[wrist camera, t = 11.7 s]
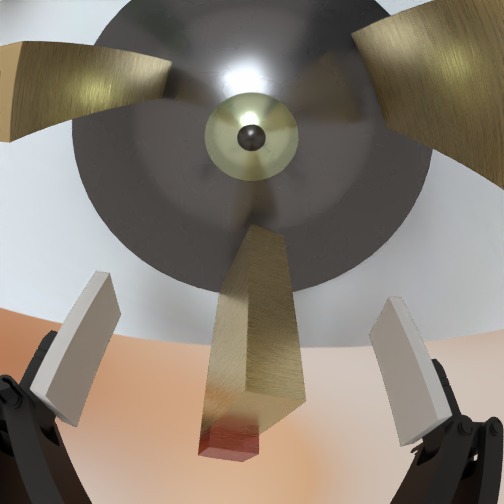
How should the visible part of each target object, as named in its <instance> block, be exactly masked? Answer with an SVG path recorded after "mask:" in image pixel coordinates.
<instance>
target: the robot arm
mask: <svg viewBox="0 0 504 504" xmlns="http://www.w3.org/2000/svg"><path fill="white" fill-rule="evenodd" d="M120 316H121V312H120V309H119V306H118V302H117V299H116V295H115V291H114V288H113V284H112V280H111V276H110V273H106V272H99V271H96V272H95V274H94V275H93V277H92V278H91V279H90V281H89V283H88V284H87V286H86V287H85V289H84V290H83V292H82V293H81V295H80V296H79V298H78V300H77V301H76V303H75V305H74V306H73V308H72V309H71V311H70V313H69V314H68V316H67V318H66V320H65V321H64V323H63V325H62V327H61V328H60V330H59V332H56V331H52V330H51V331H50V332H49V333H48V334H47V335H46V336H45V337H44V338H43V339H42V341H41V343H40V345H39V346H38V349H37V350H36V352H35V354H34V357H33V358H32V360H31V361H30V363H29V365H28V368H27V369H26V371H25V373H24V376H23V378H22V380H21V382H20V383H19V385H18V384H17V382H16V381H15V380H14V379H13V378H12V377H11V376H9V375H1V376H0V504H92V502H91V501H90V499H89V497H88V495H87V493H86V492H85V490H84V488H83V486H82V484H81V482H80V480H79V478H78V476H77V474H76V471H75V469H74V467H73V465H72V463H71V460H70V458H69V456H68V453H67V451H66V448H65V446H64V443H63V441H62V438H61V435H60V433H59V430H58V427H57V424H56V423H55V421H54V420H55V418H56V416H57V417H58V418H59V419H60V420H61V421H63V422H65V423H67V424H70V425H72V426H75V427H77V425H78V422H79V419H80V416H81V413H82V410H83V407H84V405H85V402H86V399H87V396H88V393H89V391H90V388H91V385H92V383H93V380H94V378H95V375H96V372H97V370H98V367H99V365H100V362H101V359H102V357H103V355H104V353H105V350H106V347H107V345H108V343H109V341H110V338H111V336H112V334H113V332H114V329H115V327H116V325H117V323H118V321H119V318H120ZM369 336H370V339H371V342H372V345H373V348H374V351H375V354H376V358H377V361H378V364H379V367H380V371H381V374H382V377H383V381H384V384H385V387H386V391H387V395H388V398H389V402H390V406H391V409H392V413H393V417H394V421H395V425H396V429H397V433H398V438H399V442H400V446H405V445H409V444H413V443H415V442H417V441H418V440H420V439H421V438H422V439H423V443H421V444H419V445H418V446H416V447H415V448H413V449H412V451H411V453H413V452H415V451H416V450H418V451H417V452H416V453H415V458H414V460H413V462H412V464H411V466H410V468H409V470H408V472H407V474H406V476H405V478H404V480H403V482H402V483H401V485H400V487H399V489H398V491H397V492H396V494H395V496H394V498H393V499H392V501H391V503H390V504H497V502H498V496H499V490H500V482H501V472H502V461H503V425H502V423H501V421H500V420H499V419H498V418H496V417H491V418H490V419H488V420H487V421H486V422H472V420H471V419H470V418H469V417H468V416H465V415H462V414H461V412H460V410H459V407H458V404H457V401H456V399H455V396H454V393H453V391H452V388H451V386H450V385H449V381H448V378H446V377H447V376H446V373H445V371H444V369H443V367H442V365H441V364H440V363H439V362H438V361H437V360H436V359H431V358H430V356H429V354H428V351H427V349H426V347H425V345H424V342H423V340H422V338H421V336H420V334H419V332H418V329H417V327H416V325H415V323H414V321H413V319H412V317H411V315H410V313H409V311H408V309H407V307H406V305H405V303H404V301H403V299H402V297H389V298H388V300H387V302H386V304H385V306H384V308H383V310H382V312H381V313H380V315H379V317H378V319H377V321H376V323H375V325H374V326H373V328H372V330H371V332H370V334H369ZM477 454H478V457H477V460H476V461H474V456H475V455H477Z"/></svg>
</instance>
